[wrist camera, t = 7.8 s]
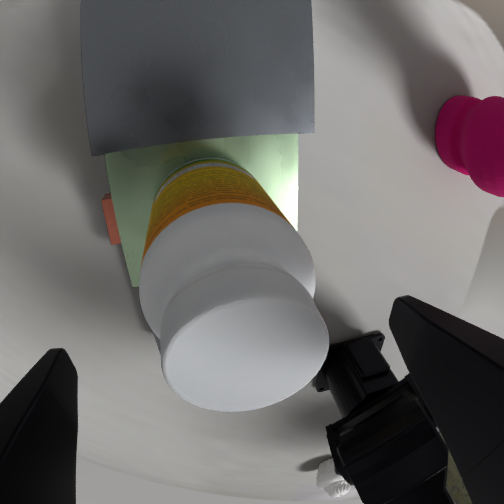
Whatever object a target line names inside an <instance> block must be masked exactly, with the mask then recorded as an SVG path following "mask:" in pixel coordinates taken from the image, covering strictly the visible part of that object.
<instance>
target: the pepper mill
mask: <svg viewBox="0 0 504 504" xmlns="http://www.w3.org/2000/svg"><path fill="white" fill-rule="evenodd" d="M435 139H436V145H437V149H438V153H439V155H440V157H441V158H442V160H443V162H444V163H445V164H446V165H447V166H448V167H450V168H452V169H454V170H456V171H458V172H460V173H462V174H465V175H470V177H471V179H472V180H473V182H474V183H475V184H476V185H477V186H478V187H479V188H480V189H482V190H483V191H485V192H488V193H490V194H493V195H496V196H499V197H504V98H503V97H498V96H492V97H488V98H485V99H483V100H480V99H478V98H474V97H468V96H463V95H458V96H454V97H452V98H450V99H449V100H448V101H447V102H446V103H445V104H444V105H443V107H442V109H441V110H440V112H439V115H438V119H437V122H436V129H435Z"/></svg>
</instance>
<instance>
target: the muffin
mask: <svg viewBox="0 0 504 504" xmlns="http://www.w3.org/2000/svg"><path fill="white" fill-rule="evenodd" d="M316 479H317V482H316V485H317V487H318V488H320V489H322V490H324V491H325V492H328V493H329V495H330V496H331V497H339V496H343V495H344V494H346V493H347V492H348V491H349V490H350V484H348V483H347V482H346V481H345V480H344V478H343V477H342V476H340V475H337V474H336V473H335V470H334V462H333V458H331V459H328V460H325V461H323V462H322V463H320V464H319V468H318V473H317V478H316Z"/></svg>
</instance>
